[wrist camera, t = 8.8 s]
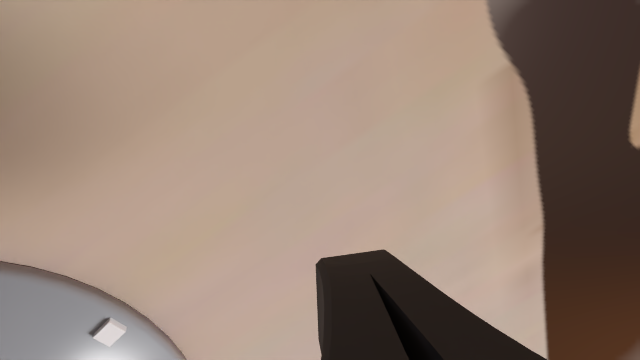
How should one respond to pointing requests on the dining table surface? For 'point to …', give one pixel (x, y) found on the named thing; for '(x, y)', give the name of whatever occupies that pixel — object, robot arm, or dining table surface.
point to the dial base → (72, 321)
